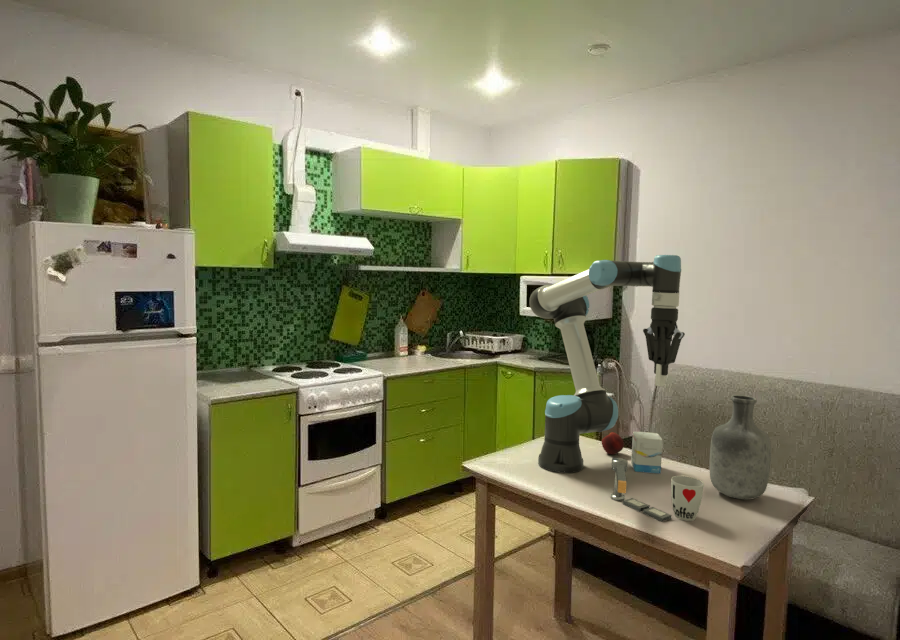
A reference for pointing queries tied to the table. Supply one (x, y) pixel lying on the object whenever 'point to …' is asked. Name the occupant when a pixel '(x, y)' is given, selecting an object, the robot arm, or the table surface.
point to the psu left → (635, 504)
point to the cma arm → (620, 473)
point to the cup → (686, 496)
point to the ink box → (646, 452)
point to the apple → (612, 443)
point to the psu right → (657, 514)
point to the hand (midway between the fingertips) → (660, 385)
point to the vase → (740, 453)
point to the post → (616, 494)
